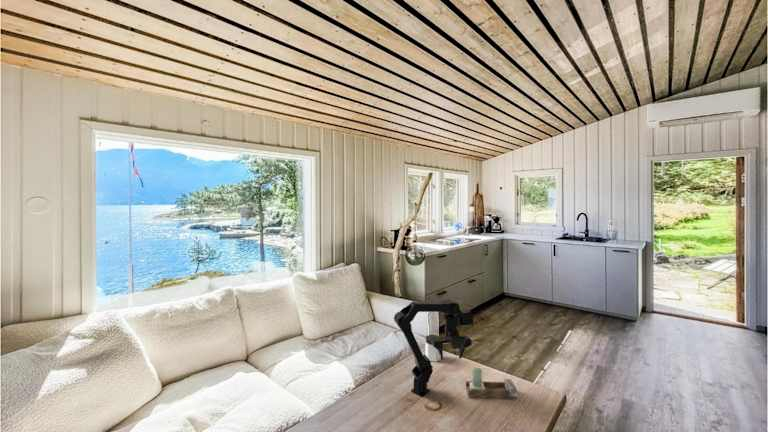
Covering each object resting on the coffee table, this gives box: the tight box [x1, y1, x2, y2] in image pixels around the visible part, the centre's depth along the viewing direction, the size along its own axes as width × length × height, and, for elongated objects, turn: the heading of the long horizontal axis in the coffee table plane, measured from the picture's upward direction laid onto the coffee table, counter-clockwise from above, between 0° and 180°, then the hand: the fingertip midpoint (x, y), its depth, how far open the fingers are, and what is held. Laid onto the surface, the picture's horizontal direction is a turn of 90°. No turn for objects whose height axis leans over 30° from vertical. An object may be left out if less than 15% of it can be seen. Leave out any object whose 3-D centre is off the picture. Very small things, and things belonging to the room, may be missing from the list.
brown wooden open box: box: [465, 378, 518, 401], centre depth 147 cm, size 21×8×5 cm, turn 86°
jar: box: [424, 334, 441, 363], centre depth 182 cm, size 9×8×12 cm
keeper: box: [470, 367, 485, 390], centre depth 147 cm, size 6×5×9 cm
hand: (451, 359), depth 153 cm, fingers open, 9 cm apart
